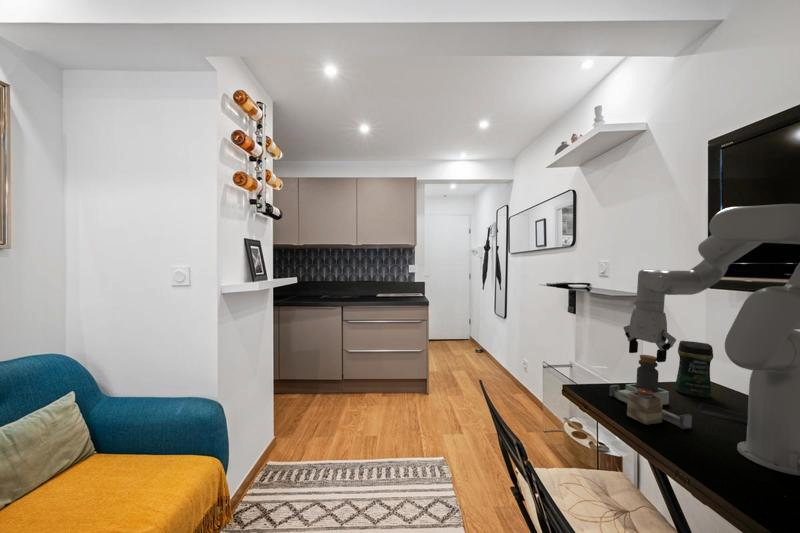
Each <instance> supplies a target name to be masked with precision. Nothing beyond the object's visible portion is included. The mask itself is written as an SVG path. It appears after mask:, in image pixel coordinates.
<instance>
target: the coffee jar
mask: <svg viewBox="0 0 800 533" xmlns="http://www.w3.org/2000/svg"><path fill="white" fill-rule="evenodd" d="M713 351H714V350H713V346H712V345H711V344H709V343H708V342H707V343H706V342H699V341H688V340H680V341H679V344H678V347H677V353H678V357H679V365H678V370H677V374H676V379H675V380H676V381H675V387H674V388H675V389H676V391H677V392H678V391H679V393H681V394H683V395H687V396H690V397H691V396H692V397H698V398H704V399H705V398H706V399H708V398H711V397H712V384H711V383H712V382H711V362H712V360H713V358H714V352H713Z"/></svg>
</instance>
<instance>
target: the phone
mask: <svg viewBox="0 0 800 533" xmlns="http://www.w3.org/2000/svg"><path fill="white" fill-rule="evenodd" d="M697 412H698V413H700V412H701V413H700V414H705V415H708V416H712V417H715V418H719V419H723V420H726V421H727V420H728V421H731V422H734V423H739V424H742V425H745V426H746V425H747V419H748V413H744V412H741V411H737V410H731V409H728V408H724V407H720V406H715V405H711V404H707V403H702V402H701V403H699V405H698V407H697Z"/></svg>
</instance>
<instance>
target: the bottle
mask: <svg viewBox="0 0 800 533" xmlns="http://www.w3.org/2000/svg"><path fill="white" fill-rule="evenodd" d="M656 358H657V356H653V355H649V354H640V355H639V360H638V364H639V365H640V366H638V367H637V368H636V383H635V384H636V388H637V389H638V388H643V389H648V390H651V391H653V393H656V392H658V388H659V370H658V369H656V367H658V362H657V361H656Z"/></svg>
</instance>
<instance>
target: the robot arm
mask: <svg viewBox="0 0 800 533" xmlns="http://www.w3.org/2000/svg"><path fill="white" fill-rule="evenodd" d="M708 224H709V225H708V228H709V232H710V234H711V235H709V236H708V237H707V238H706V239H704V240H703V241H701V242H700V243H699V245H698V246H697V247H698V248H697V250H698V252H699V255H700V256H701V258H702V259H703V260H702V261H700V262H699V263H698V264H697V265H695V266H694V267H692V268H691V269H688V270H661V269H641V270H639V271H638V274H637V286H636V287H637V289H636V300H635V301H634V302H633V304H634V305H635V308H633V310H632V312H631V317H630V320H629V325H625V326H623V330H624V333H625V336H626V338H627V341H628V342H629V343H628V353H629V354H637V353H638V351H639V341H637V340H641V341H643V342H648V343H651V344H656V346H657V348H658V349H657V350H656V363H666V361H667V353H668V351H669V350H670V349H671V348H673V346H674V345H675V343H676V342H677V339H676V337H674V336H673V335H671V334H670V333H669V332H668V321H667V320H668V319H667V314H666V312H665V297H666V296H675V295H676V296H679V295H680V296H682V295H683V296H685V295H686V296H687V295H688V296H691V295H695V294H696V295H697V294H699V293H702V292H703V291H705V290H708V289H710V288H711V287H712V286H714V285H715V284H717V283H718V282H719V281H721V279H723V278H724V277H725V275H726V273H727V271H728V269H729V266H730V265H731V264H732V263H734V262H735V261H737V260H739V259H740V258H742V257H743V256H744V255H746V254H748V253H749V252H751V251H752V250H754V249H755V248H758V246H760V245H762V244H764V243H768V244H769V243H770V244H788V245H789V244H793V245H800V203H780V204H764V205H750V206H749V205H747V206H730V207H726V208H723V209H722V210H720V211H718V212H717V213H715V215H713V216H712V218H711V219H710V222H709V223H708ZM799 330H800V262H798V265H797V266H796V267H795V269H794V271H793V273H792V275H791V276H790V278H789V279H788V281H787V282H786V283H785V285H782V286H780V285H777V286H774V285H773V286H767V287H766V286H765V287H763V288H760V289H758V290H756V291H754V292H753V293H751V294H750V295H749V296H747V298H746V299H745V300H744V302H743V304H742V305H741V307H740V309H739V311H738V313H737V315H736V317H735V318H734V321H733V323H732V325H731V326H730V329H729V330H728V332H727V334H726V338H725V340H724V350H725V353H726V356H727V358H728V359H729V360H730V362H732V363H733V364H734V365H736V366H738V367H739V368H742V369H745V370H749V371H751V374H750V378H749V384H748V400H747V401H748V402H747V414H748V419H747V426H746V439H745V441H740V442H738V443H737V446H736V448H737V449H736V450H737V451H738V453H739V454H740V455H741V456H743V457H744V458H746V459H747V460H749V461H752V462H753V463H755V464H758V465H760V466H762V467H764V468H765V467H766V468H767V469H770V470H774V471H776V472H780V473H784V474H788V475H793V476H799V477H800V331H799Z"/></svg>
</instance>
